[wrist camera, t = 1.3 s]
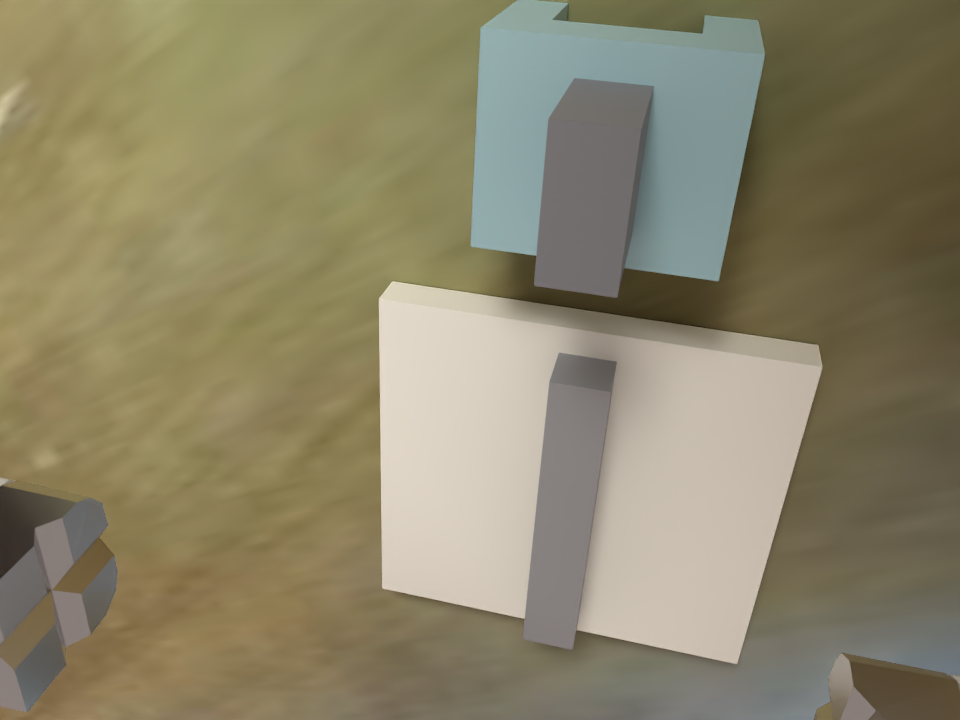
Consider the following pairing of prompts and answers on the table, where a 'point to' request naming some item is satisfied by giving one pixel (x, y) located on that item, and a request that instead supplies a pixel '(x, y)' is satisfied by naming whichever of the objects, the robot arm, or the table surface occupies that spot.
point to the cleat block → (610, 144)
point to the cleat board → (653, 468)
